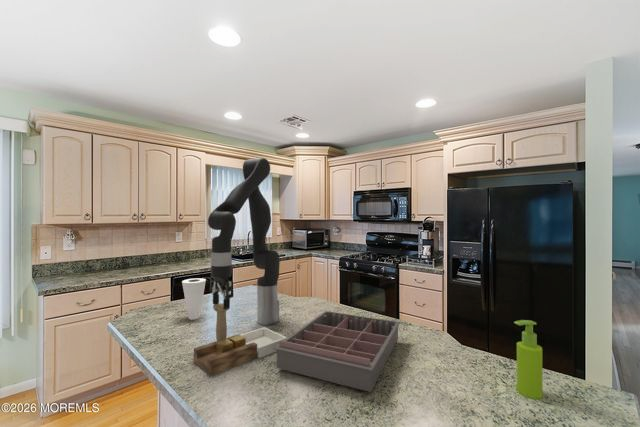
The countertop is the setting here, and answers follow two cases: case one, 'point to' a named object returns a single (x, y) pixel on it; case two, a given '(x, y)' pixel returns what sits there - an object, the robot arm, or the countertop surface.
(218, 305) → the handle
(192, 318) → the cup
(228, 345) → the chip
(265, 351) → the tray
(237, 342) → the golden brown cube
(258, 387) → the countertop surface
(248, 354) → the slot board
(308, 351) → the organizer tray
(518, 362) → the soap dispenser
